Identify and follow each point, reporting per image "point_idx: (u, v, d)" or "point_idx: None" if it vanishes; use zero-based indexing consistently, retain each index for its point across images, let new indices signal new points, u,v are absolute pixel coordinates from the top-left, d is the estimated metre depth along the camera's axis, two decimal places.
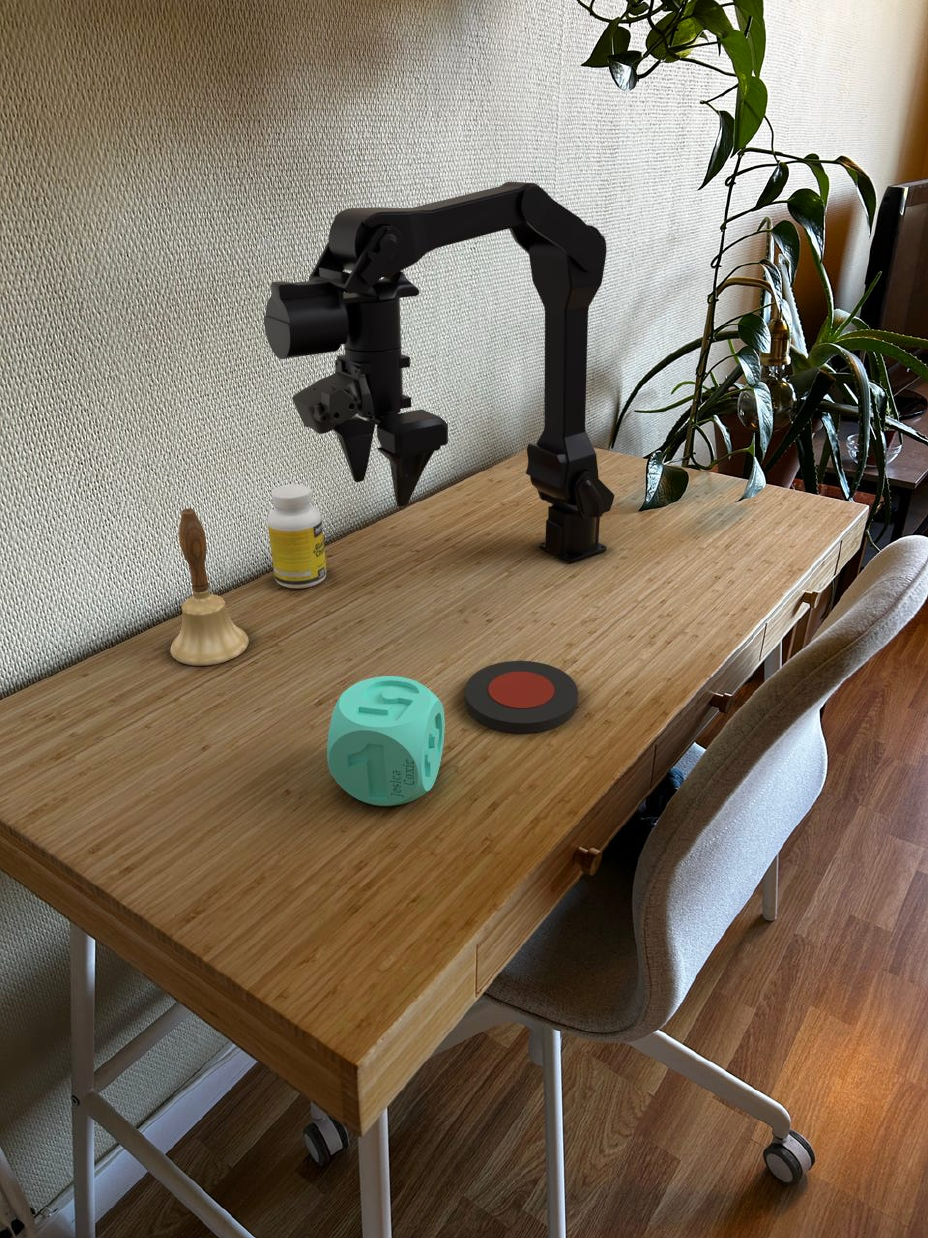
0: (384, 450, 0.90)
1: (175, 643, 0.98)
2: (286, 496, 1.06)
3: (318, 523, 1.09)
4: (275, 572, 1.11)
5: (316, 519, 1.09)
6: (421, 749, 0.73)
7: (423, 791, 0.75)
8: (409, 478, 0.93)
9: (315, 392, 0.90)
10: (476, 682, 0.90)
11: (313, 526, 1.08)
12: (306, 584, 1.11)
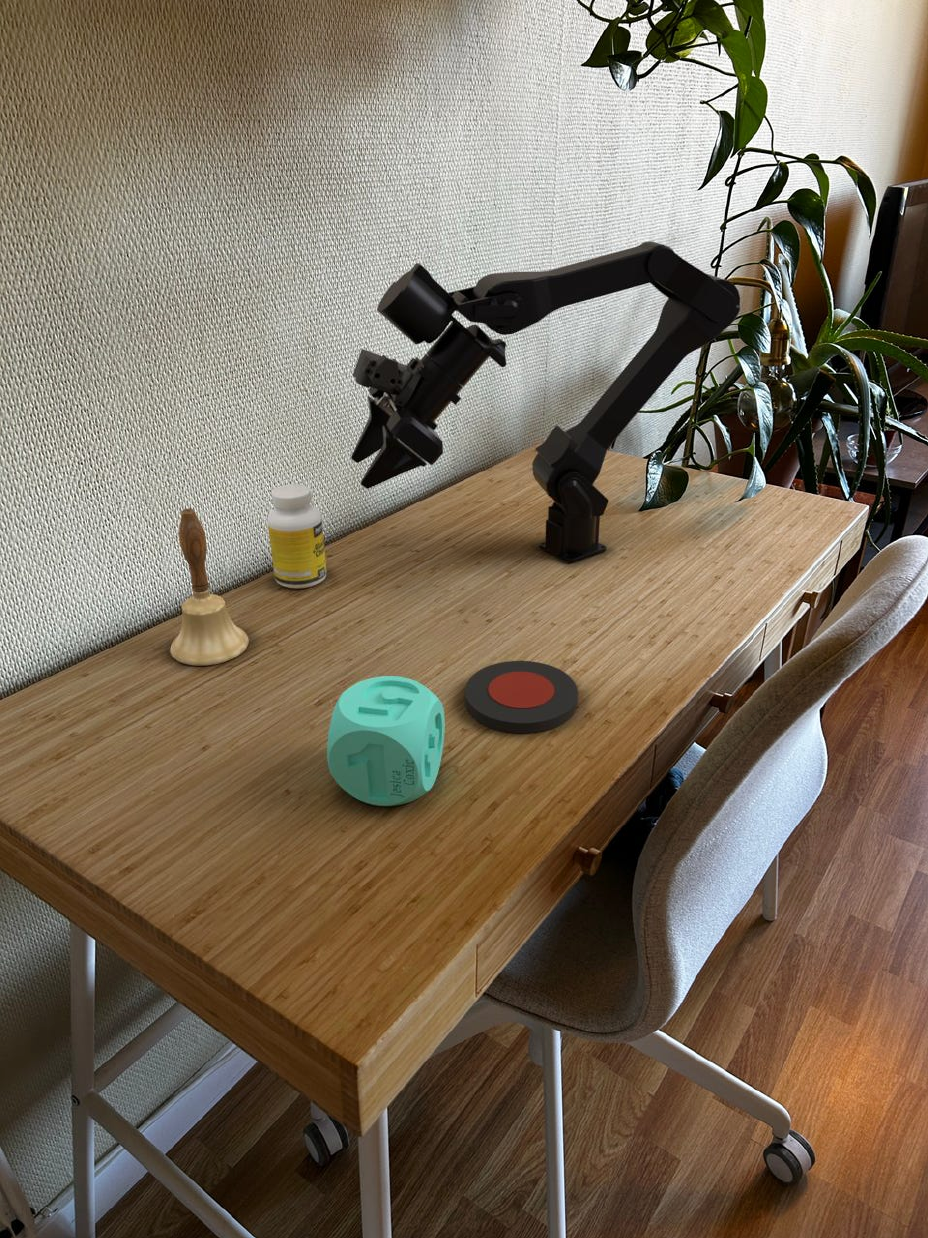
0: (386, 429, 1.00)
1: (175, 643, 0.98)
2: (286, 496, 1.06)
3: (318, 523, 1.09)
4: (275, 572, 1.11)
5: (316, 519, 1.09)
6: (421, 749, 0.73)
7: (423, 791, 0.75)
8: (385, 469, 1.03)
9: (379, 358, 1.03)
10: (476, 682, 0.90)
11: (313, 526, 1.08)
12: (306, 584, 1.11)
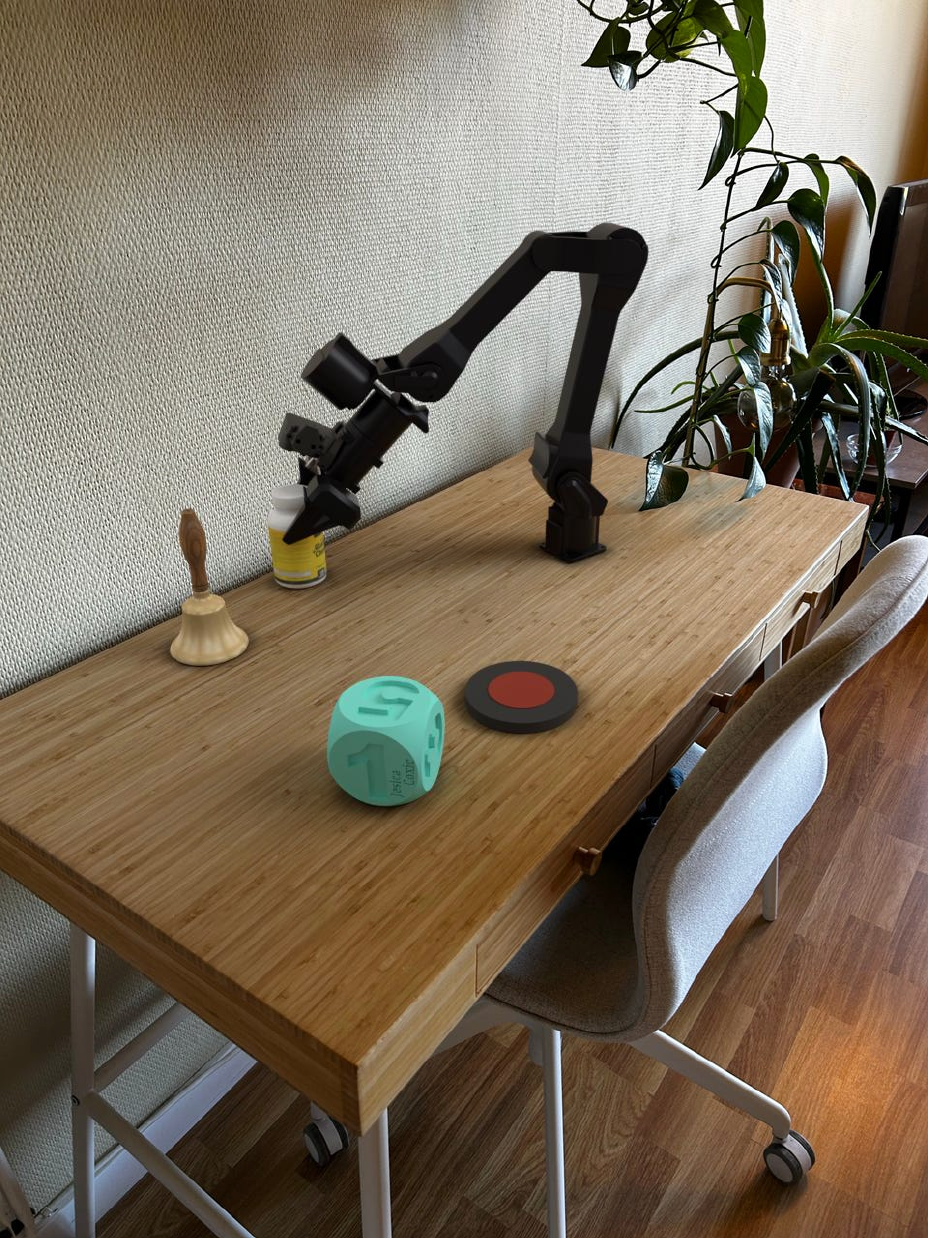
0: (305, 489, 1.03)
1: (175, 643, 0.98)
2: (286, 496, 1.06)
3: None
4: (275, 572, 1.11)
5: None
6: (421, 749, 0.73)
7: (423, 791, 0.75)
8: (305, 527, 1.06)
9: (303, 422, 1.05)
10: (476, 682, 0.90)
11: None
12: (306, 584, 1.11)
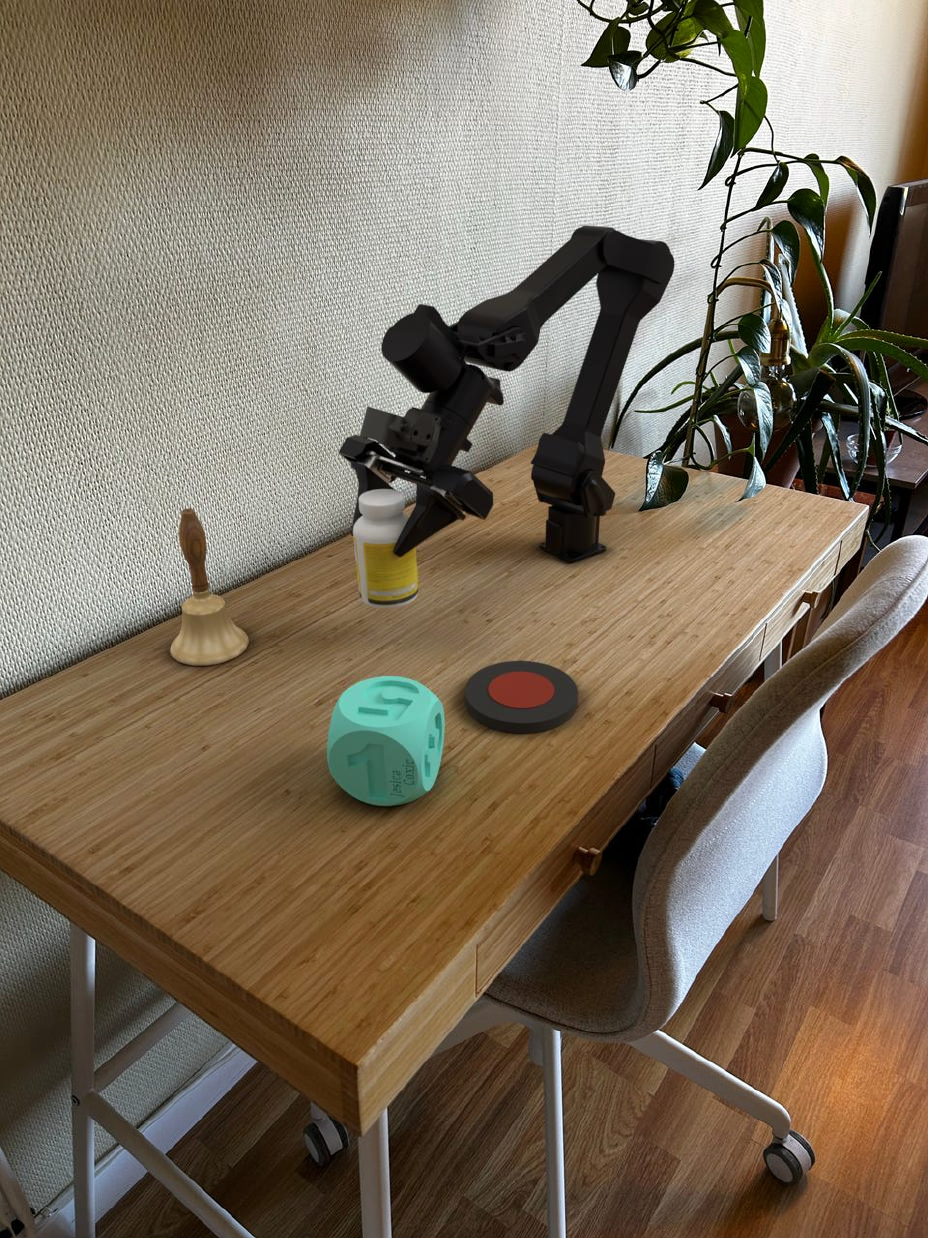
0: (425, 487, 0.90)
1: (175, 643, 0.98)
2: (387, 502, 0.92)
3: None
4: (373, 595, 0.95)
5: None
6: (421, 749, 0.73)
7: (423, 791, 0.75)
8: (421, 531, 0.92)
9: None
10: (476, 682, 0.90)
11: None
12: (412, 599, 0.97)
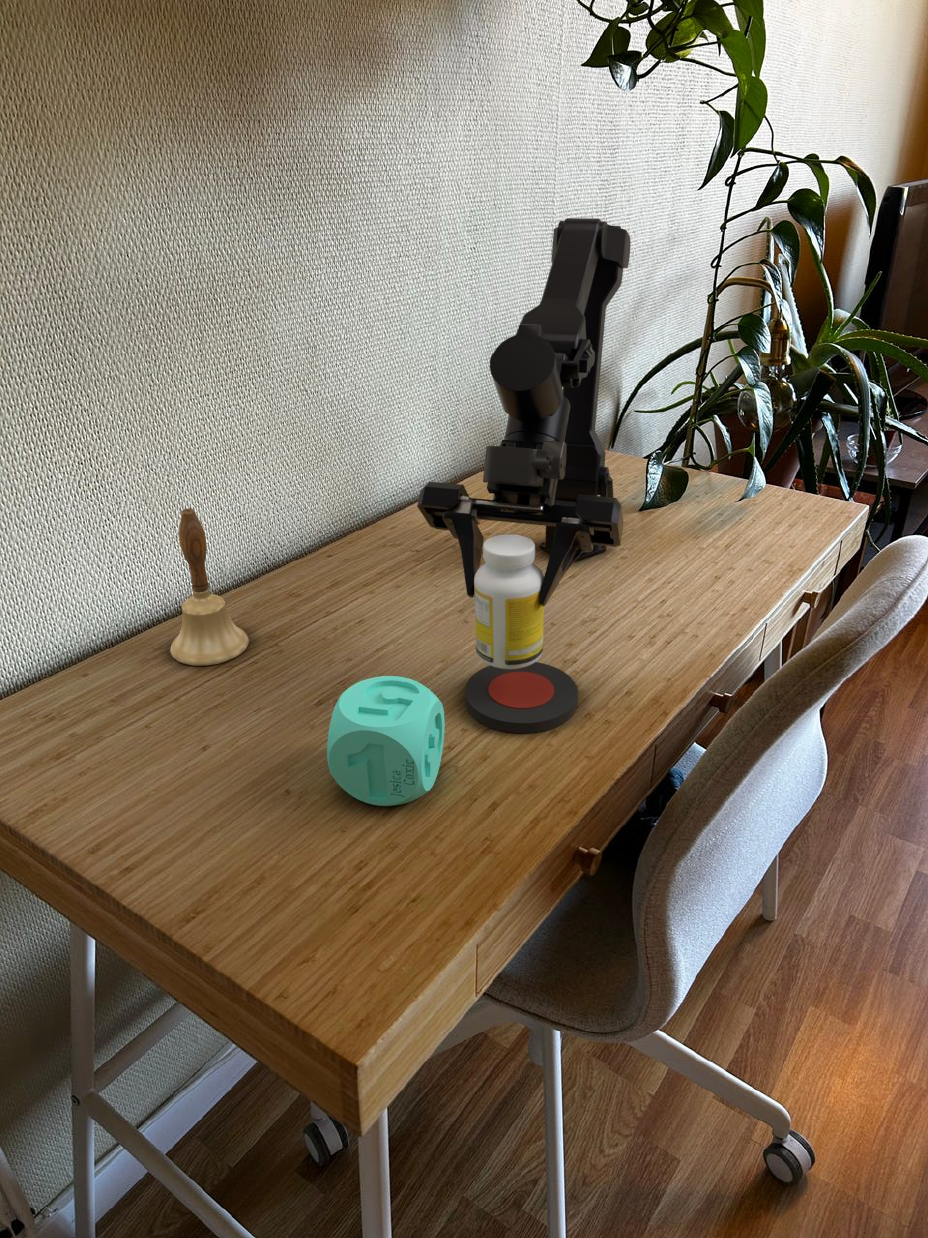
0: None
1: (175, 643, 0.98)
2: (526, 549, 0.81)
3: None
4: (513, 656, 0.84)
5: None
6: (421, 749, 0.73)
7: (423, 791, 0.75)
8: (560, 573, 0.83)
9: None
10: (476, 682, 0.90)
11: None
12: (542, 650, 0.87)
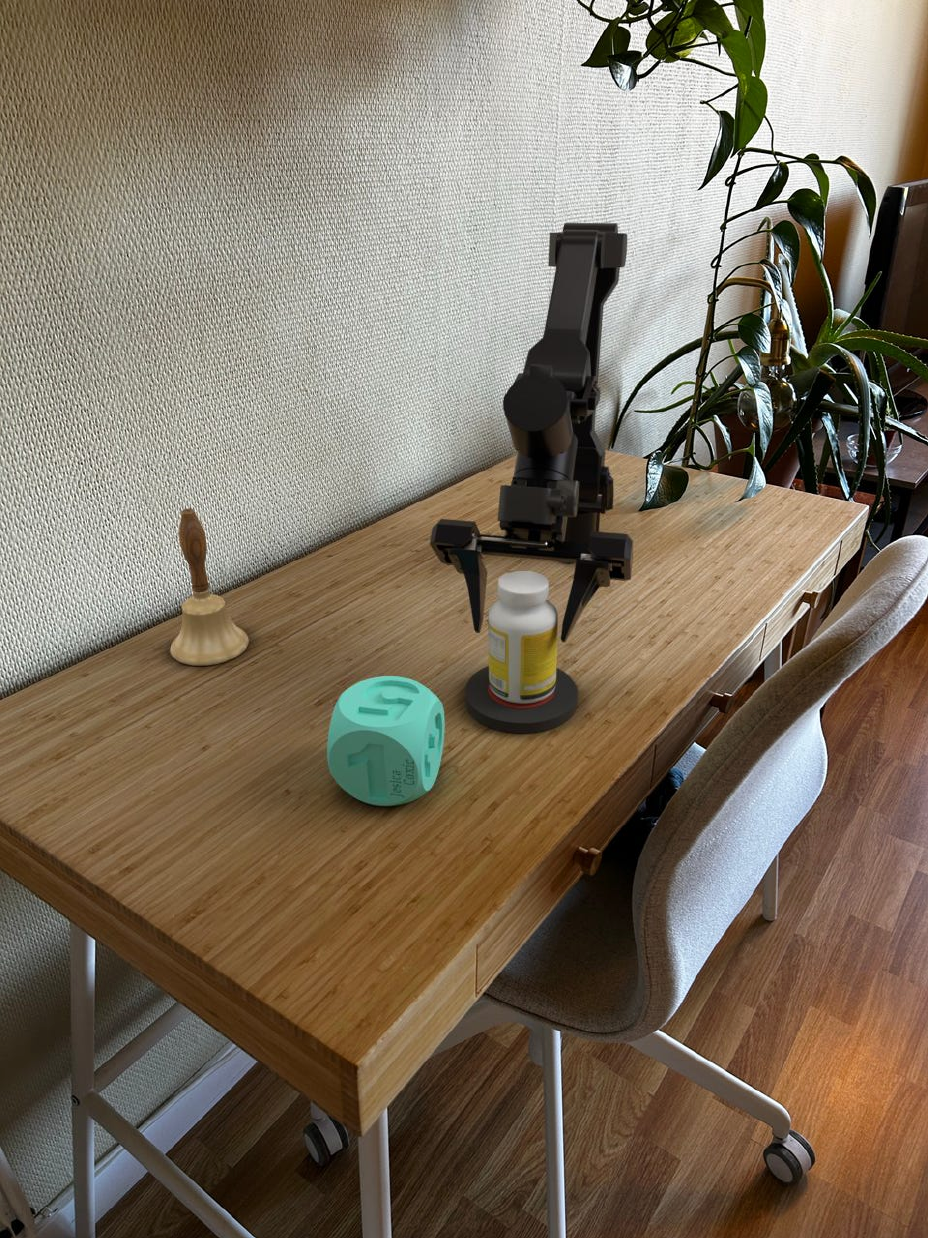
0: None
1: (175, 643, 0.98)
2: (540, 586, 0.82)
3: None
4: (528, 690, 0.85)
5: None
6: (421, 749, 0.73)
7: (423, 791, 0.75)
8: (580, 609, 0.84)
9: None
10: (476, 682, 0.90)
11: None
12: (555, 683, 0.88)
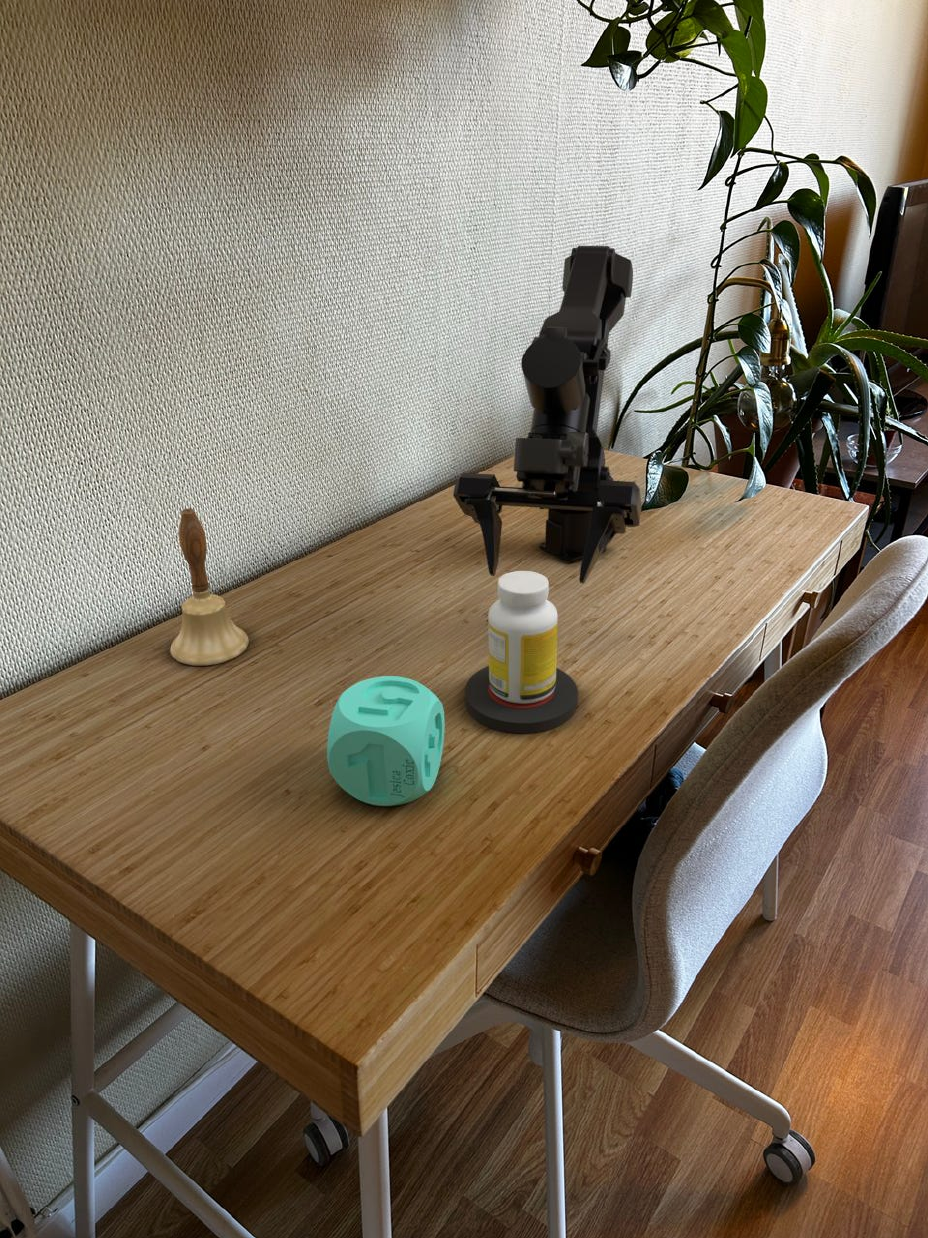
0: (604, 507, 0.89)
1: (175, 643, 0.98)
2: (540, 586, 0.82)
3: None
4: (528, 690, 0.85)
5: None
6: (421, 749, 0.73)
7: (423, 791, 0.75)
8: (597, 553, 0.91)
9: None
10: (476, 682, 0.90)
11: None
12: (555, 683, 0.88)
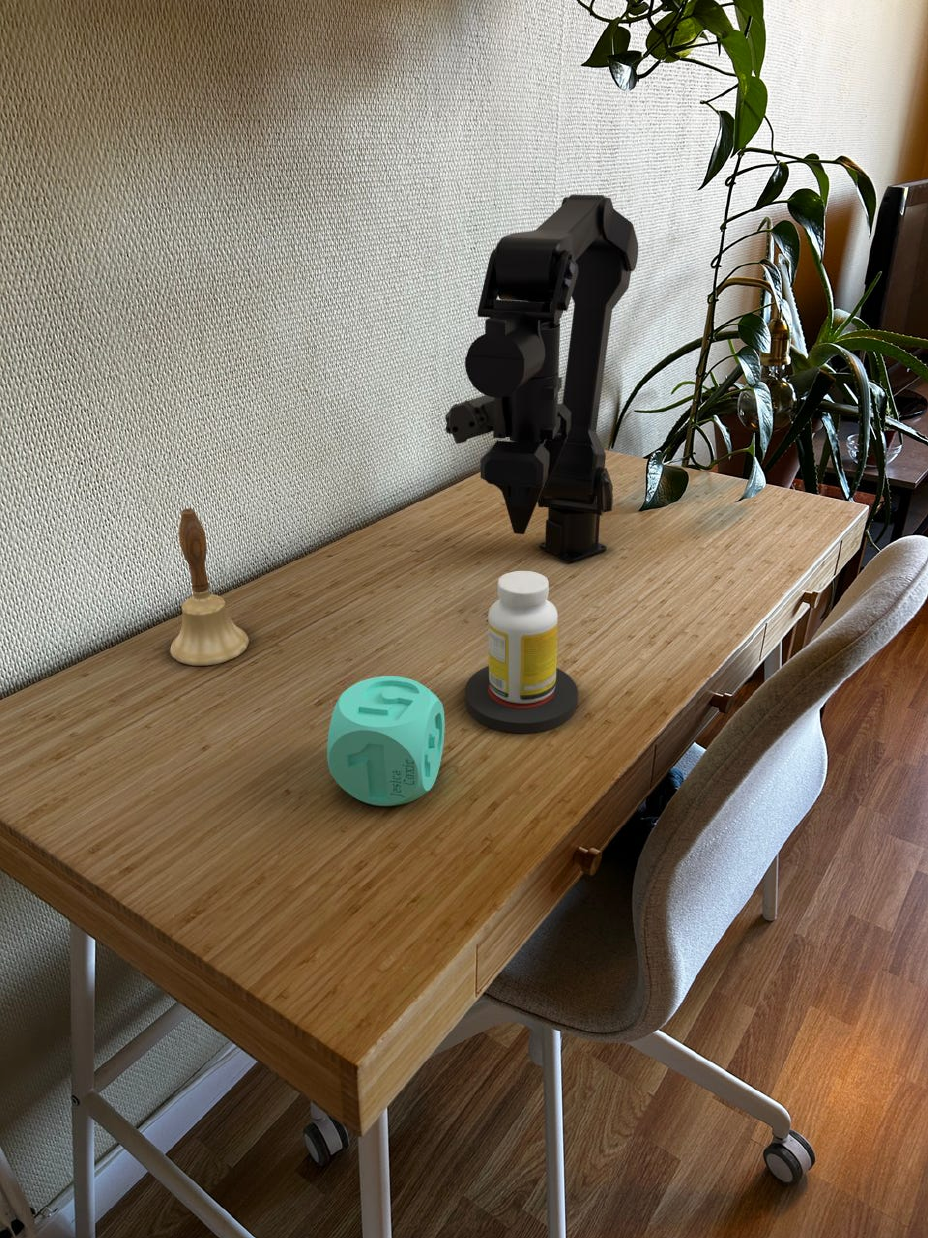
0: None
1: (175, 643, 0.98)
2: (540, 586, 0.82)
3: None
4: (528, 690, 0.85)
5: None
6: (421, 749, 0.73)
7: (423, 791, 0.75)
8: (520, 508, 0.92)
9: None
10: (476, 682, 0.90)
11: None
12: (555, 683, 0.88)
